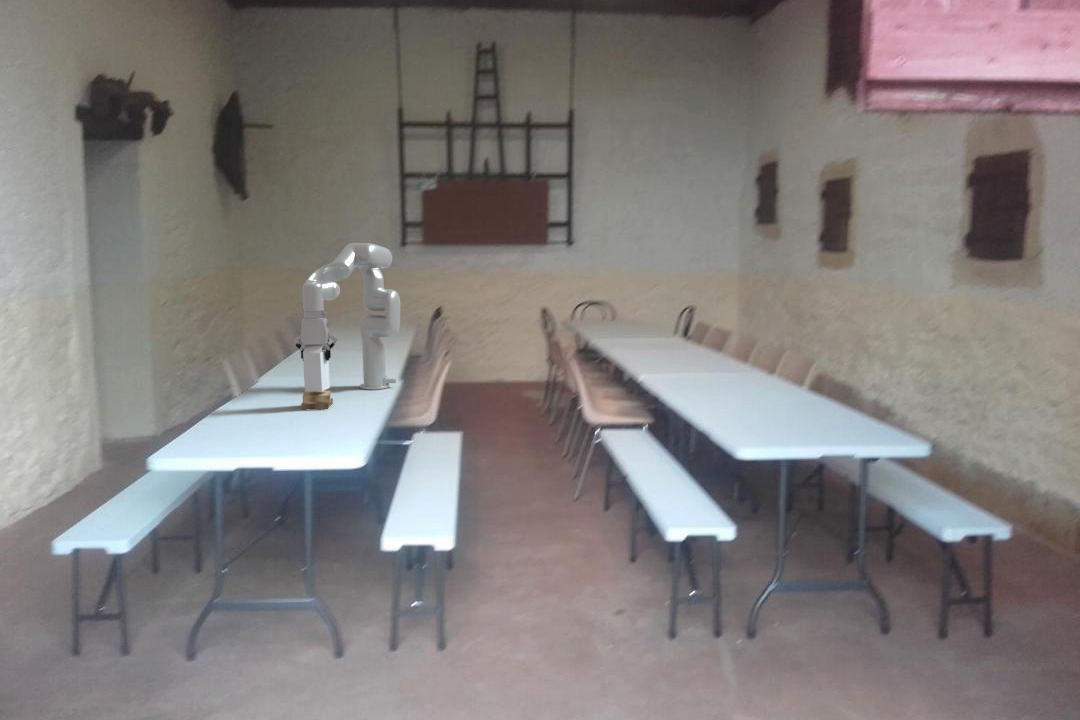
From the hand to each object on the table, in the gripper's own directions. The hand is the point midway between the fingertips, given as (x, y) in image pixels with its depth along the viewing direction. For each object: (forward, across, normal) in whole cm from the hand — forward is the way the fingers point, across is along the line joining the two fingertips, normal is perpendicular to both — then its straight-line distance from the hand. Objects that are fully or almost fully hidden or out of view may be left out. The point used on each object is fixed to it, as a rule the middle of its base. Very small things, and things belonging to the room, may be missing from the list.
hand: (316, 360), depth 339 cm
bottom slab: (+19, 0, 0) cm, 19 cm away
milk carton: (+12, 0, 0) cm, 12 cm away
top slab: (+16, 0, 0) cm, 16 cm away
